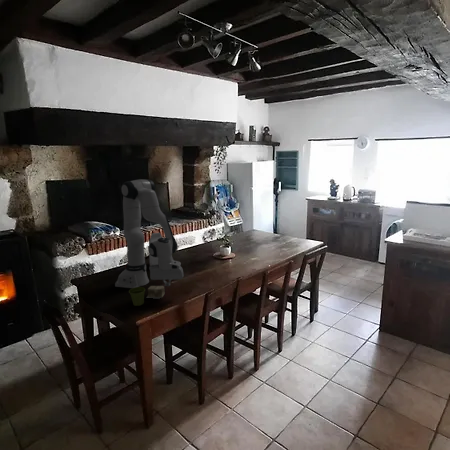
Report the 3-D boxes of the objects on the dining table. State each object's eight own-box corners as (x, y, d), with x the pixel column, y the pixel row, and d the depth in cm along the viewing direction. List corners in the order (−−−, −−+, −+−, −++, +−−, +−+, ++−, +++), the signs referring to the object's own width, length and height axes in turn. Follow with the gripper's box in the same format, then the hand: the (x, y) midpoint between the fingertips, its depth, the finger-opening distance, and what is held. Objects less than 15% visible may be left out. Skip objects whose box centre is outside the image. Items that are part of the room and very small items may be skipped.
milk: (152, 268, 249) (149, 235, 243) (149, 264, 260) (146, 232, 254) (167, 266, 254) (165, 233, 248) (164, 261, 264) (162, 230, 258)
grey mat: (145, 298, 200) (145, 298, 200) (149, 292, 208) (149, 292, 208) (160, 298, 199) (160, 298, 199) (163, 292, 207) (163, 292, 207)
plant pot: (136, 309, 187) (134, 295, 185) (127, 304, 193) (125, 290, 191) (149, 303, 194) (148, 289, 192) (140, 298, 200) (139, 285, 198)
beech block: (162, 297, 201) (148, 296, 202) (164, 293, 206) (151, 293, 207) (161, 289, 200) (147, 289, 201) (164, 286, 204) (150, 285, 205)
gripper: (147, 266, 196) (149, 288, 199) (181, 266, 194) (183, 287, 198) (150, 262, 202) (152, 283, 205) (183, 262, 200) (184, 283, 204)
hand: (167, 285), depth 201 cm, fingers closed
